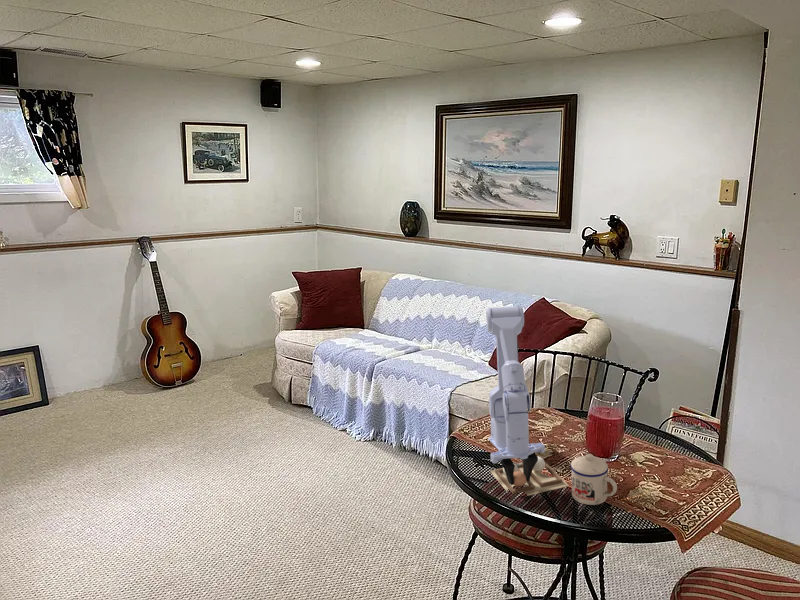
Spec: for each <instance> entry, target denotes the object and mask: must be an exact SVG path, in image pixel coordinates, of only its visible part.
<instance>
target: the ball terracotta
mask: <svg viewBox="0 0 800 600" xmlns="http://www.w3.org/2000/svg"><path fill="white" fill-rule="evenodd" d="M525 483H526V476H525V474H524V473H523V472H520V471H517V472H514V486H516V487H522V486H524V485H525Z"/></svg>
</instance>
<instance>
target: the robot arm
mask: <svg viewBox="0 0 800 600" xmlns="http://www.w3.org/2000/svg"><path fill="white" fill-rule="evenodd" d="M485 313H486V314H485V315H486V328H487V329H486V330H487V331H488V333H491V334H492V335H493V336H495V341H496V342H495V343H496V359H497V360H496V362H497V363H496V364H497V385H496V386H495V387H494V388H492V389H491V390H490V391H489V394H488V397H489V398H488V409H489V410H488V411H489V416H490V417H491V418H490V437H488V441H489V442H490V443H491V444H492V445H493V446H494V447H495V448H496V449H497V451H495V452H491V453H490V461H491V463H493V464H497V463H498V462H500V464H501V465H502V468H504V470H505V472H506V475H507V479H508V482H509V483H510V484H511V485H514V467H515V465H514V464H515V463H514V462H513V460H512V459H519V460H522V463H523V473H524V474H525V476H526V481H530V476H531V473H532V470H533V468H534V466H535V464H536V463H537V461H538V457H539V456H538V457H537V455H536V454H537V453H541V454H543V453H546V446H545V444H543V442H535V443H534V442H533V443H530V441H529V440H530V437H529V436H530V435H529V434H530V433H529V431H530V430H529V429H530V428H529V413H530V412H531V405H532V404H531V397H530V393H529V390H528V385H526V379H525V377H526V376H525V371H524V365H523V364H521V362H519V356H518V355H519V354H518V353H519V352H518V351H519V350H518V336H519V335H520V334H521V333H522V330H523V328H524V326H525V312H524V308H523V307H522V306H521V305H517V306H516V305H515V306H514V305H513V306H499V307H488V308H486V312H485ZM513 463H514V464H513Z"/></svg>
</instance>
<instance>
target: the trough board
mask: <svg viewBox="0 0 800 600" xmlns="http://www.w3.org/2000/svg"><path fill="white" fill-rule="evenodd" d="M544 462H545V467H544V468H546V469H547V470H548V471H549V472H550V473H551V474H552V475H553V476H554V477H552V476H551V477H549V476H548V475H547V474H546V475H547V476H546V475H545V474H542V473H541V471H539V472H537V471H534V470H532V473H531V476H530V481H526V483H525V485H524V486H525V487H522V488H518V489H513V486H514V485H511V484H510V483H509V482H508V479H507V476H505V474H504V473H503V467H501V468H497V469H491V470H489V473H491V475H493V477H494V478H495V479H496V480H497V481H498V483H499V484H500V485H501V486H502V488H503V489H504V490H505V491H506V492H507V490H508V489H509V490H510V491H511V492H512V493H513V494H514V493H516V492H525V493H526V494H527V496H528V497H529V496H532V495H537V494H542V493H545V492H549V491H554V490H558V489H562V488H565V487H566V488H567V487H570V485H569V484H568V483H567V482H566V481H565V480H564V479H563V478H562V477H561V476H560V475H559V474H558V473H557V472H556V471H555V470H554V469H553V468H552V467H551V466H550V465H549V464H548V463H547V462H546V461H545V460H544ZM514 464H515V465H516V466H517V468H518V471H520V472H523V462H518V463H514ZM563 480H564V481H563ZM527 496H526V497H527Z"/></svg>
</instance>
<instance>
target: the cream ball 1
mask: <svg viewBox="0 0 800 600" xmlns="http://www.w3.org/2000/svg"><path fill="white" fill-rule="evenodd" d="M513 464H514V465H515V464H516V463H514V462H513ZM502 468H503V467H502ZM517 471H518V468H517V466H516V465H515V467H514V472H517ZM503 473H504V474H505V476H507V475H506V472H505V470H504V468H503Z"/></svg>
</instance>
